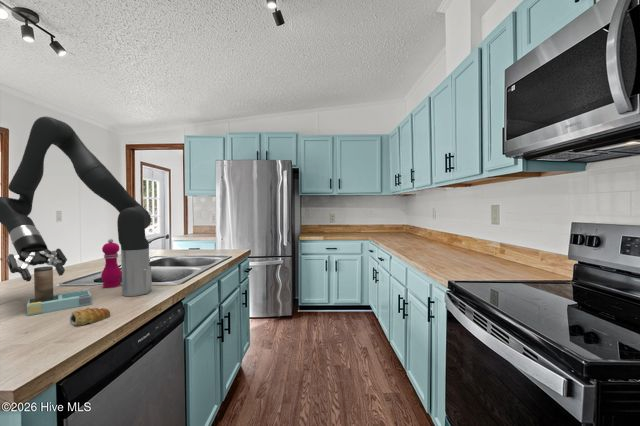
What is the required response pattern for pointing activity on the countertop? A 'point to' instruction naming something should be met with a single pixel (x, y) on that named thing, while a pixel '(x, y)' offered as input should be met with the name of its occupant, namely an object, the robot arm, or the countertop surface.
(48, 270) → the walnut peg
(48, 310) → the socket block
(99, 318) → the pastry
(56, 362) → the countertop surface
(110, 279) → the pepper mill
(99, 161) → the robot arm
